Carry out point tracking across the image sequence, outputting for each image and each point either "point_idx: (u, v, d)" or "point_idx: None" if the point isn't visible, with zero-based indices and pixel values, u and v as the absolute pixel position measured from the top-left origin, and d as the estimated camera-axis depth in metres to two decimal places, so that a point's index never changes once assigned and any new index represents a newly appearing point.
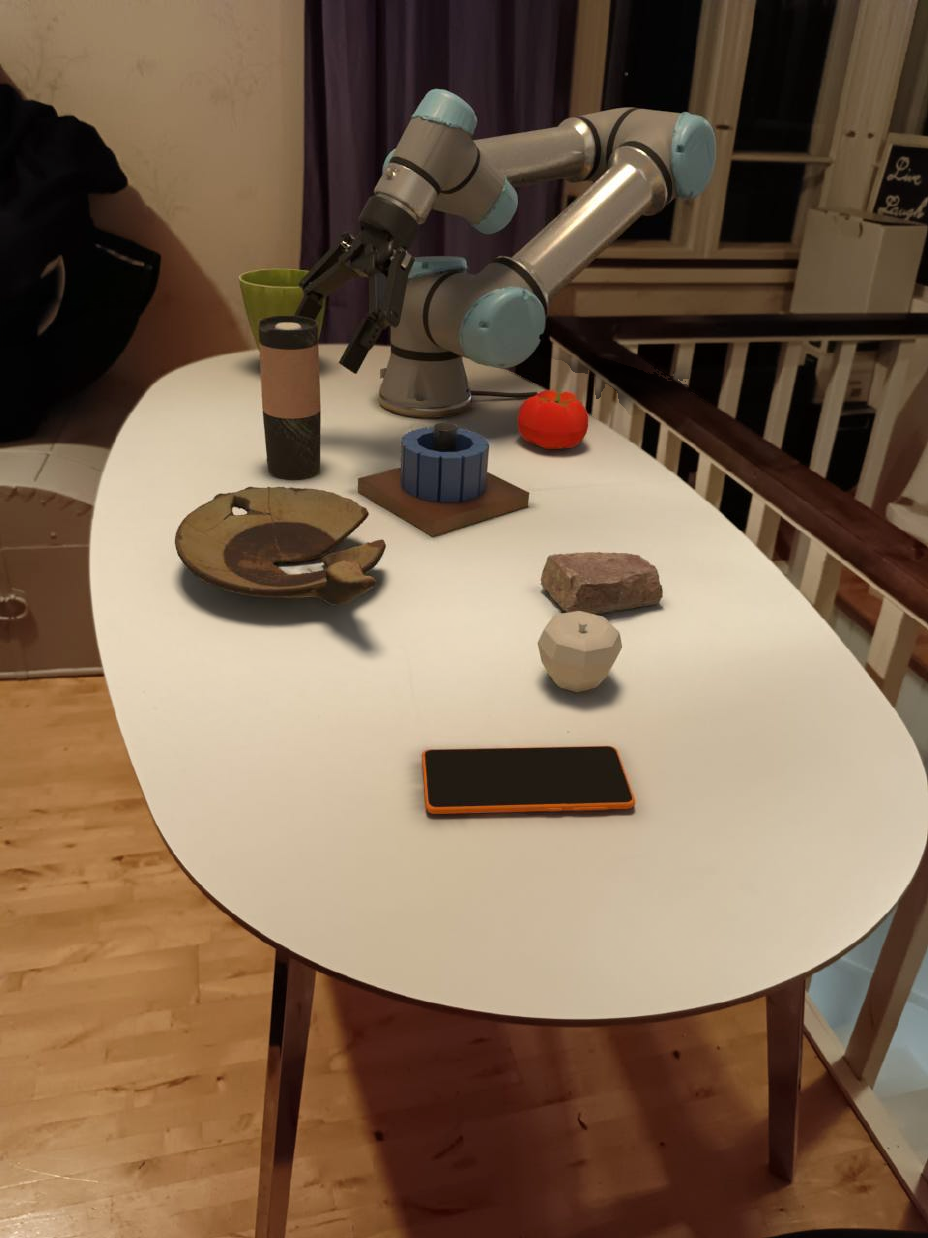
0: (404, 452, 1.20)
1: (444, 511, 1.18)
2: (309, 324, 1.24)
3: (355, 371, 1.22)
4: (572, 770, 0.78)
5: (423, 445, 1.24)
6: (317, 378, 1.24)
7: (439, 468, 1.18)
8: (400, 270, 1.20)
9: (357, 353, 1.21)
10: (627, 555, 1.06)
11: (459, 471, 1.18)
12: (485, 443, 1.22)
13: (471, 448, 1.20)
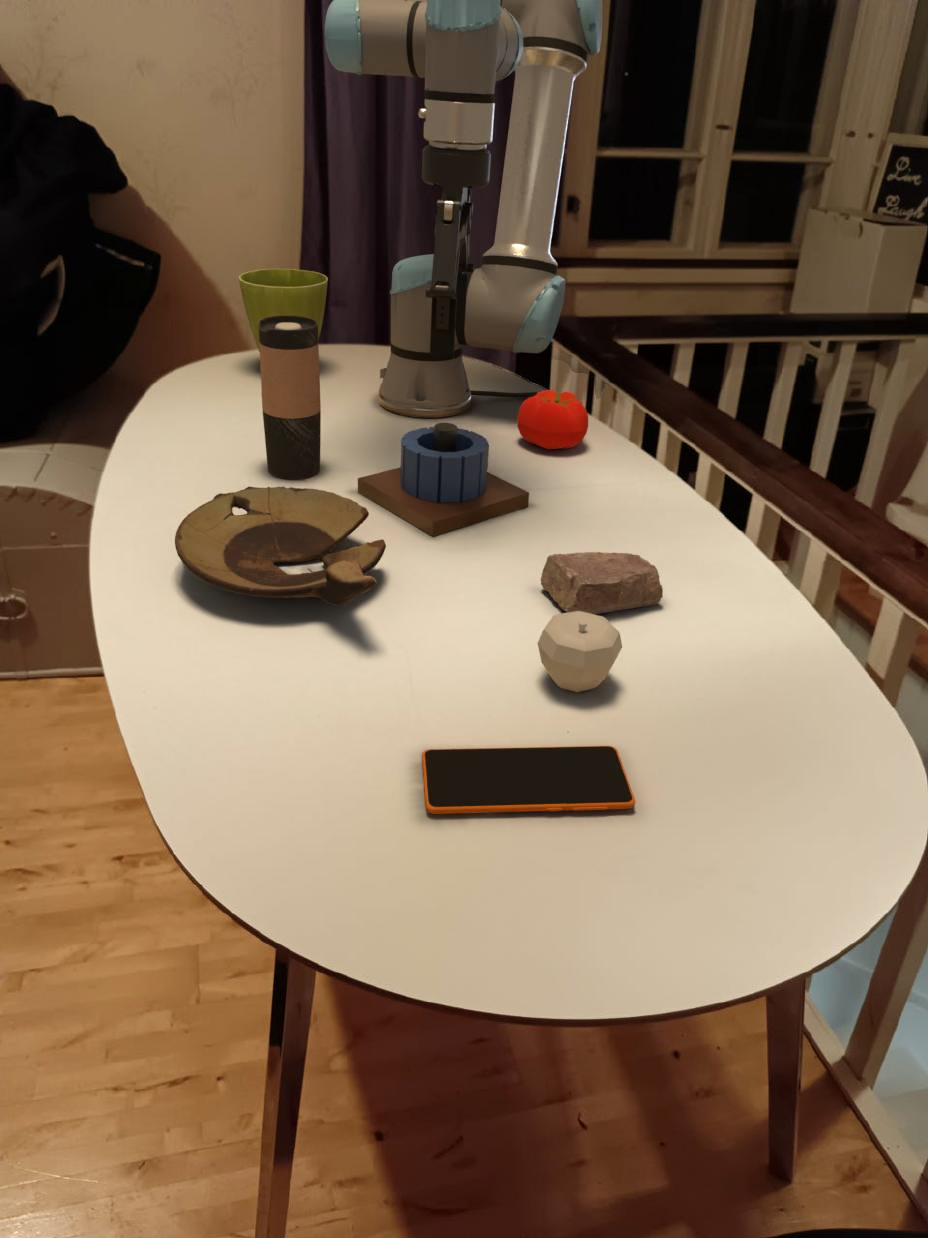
0: (404, 452, 1.20)
1: (444, 511, 1.18)
2: (309, 324, 1.24)
3: (450, 355, 1.09)
4: (572, 770, 0.78)
5: (423, 445, 1.24)
6: (317, 378, 1.24)
7: (439, 468, 1.18)
8: (444, 227, 1.02)
9: (442, 337, 1.08)
10: (627, 555, 1.06)
11: (459, 471, 1.18)
12: (485, 443, 1.22)
13: (471, 448, 1.20)
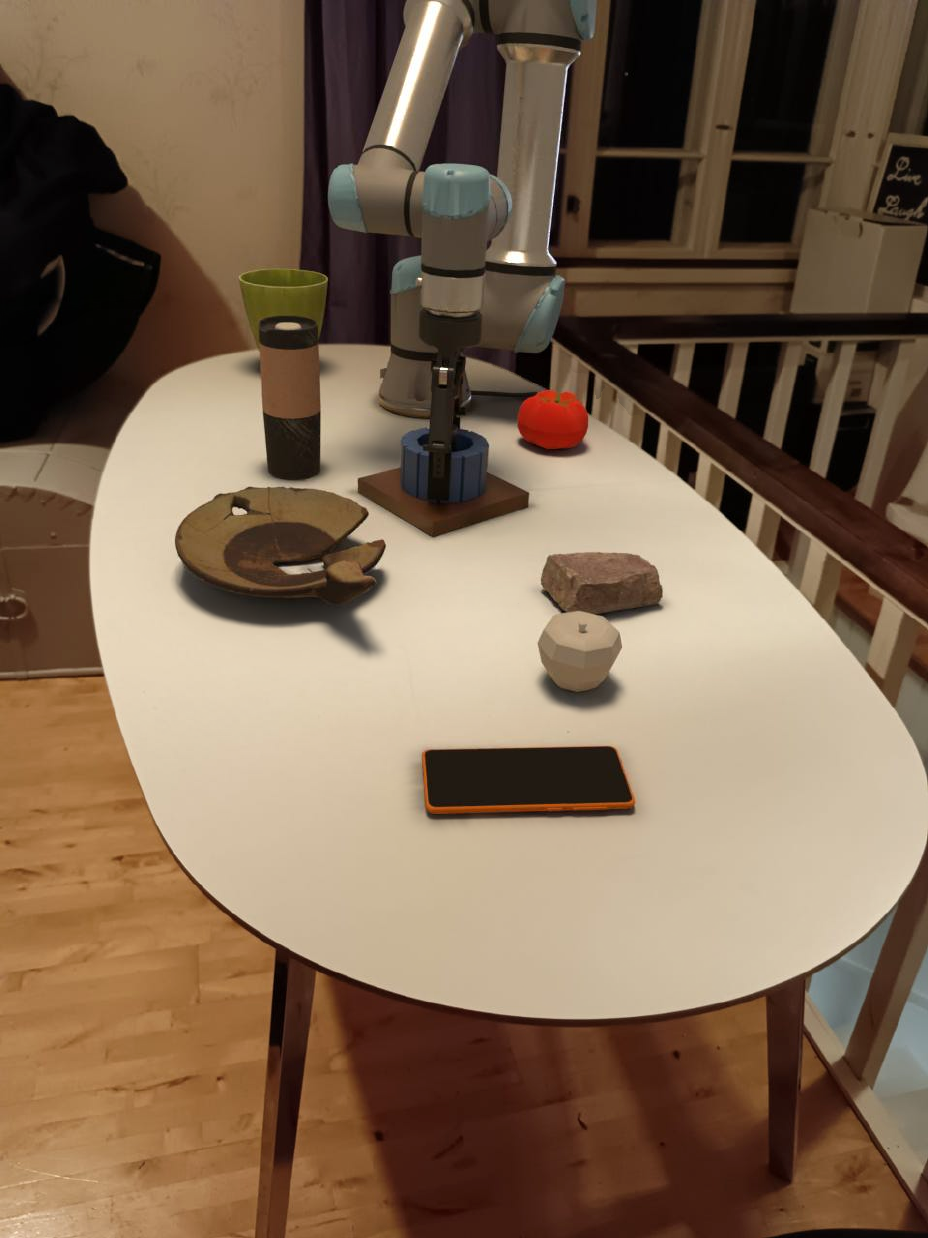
0: (404, 452, 1.20)
1: (444, 511, 1.18)
2: (309, 324, 1.24)
3: (446, 499, 1.19)
4: (572, 770, 0.78)
5: None
6: (317, 378, 1.24)
7: None
8: (439, 391, 1.11)
9: (438, 483, 1.18)
10: (627, 555, 1.06)
11: (459, 471, 1.18)
12: (485, 443, 1.22)
13: (471, 448, 1.20)
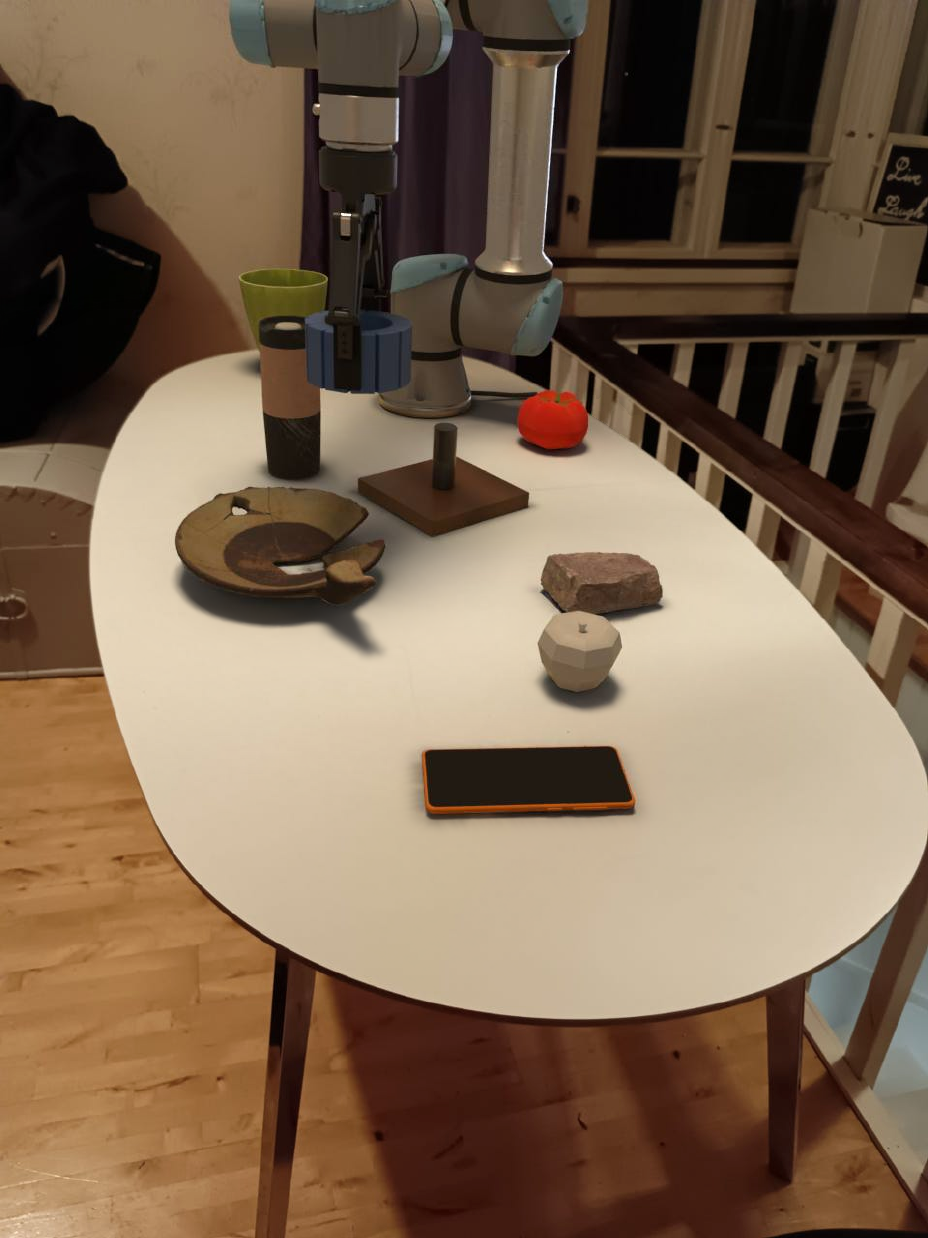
0: (307, 332, 0.98)
1: (444, 511, 1.18)
2: None
3: (357, 388, 0.97)
4: (572, 770, 0.78)
5: None
6: None
7: None
8: (341, 244, 0.89)
9: (346, 367, 0.96)
10: (627, 555, 1.06)
11: (373, 353, 0.96)
12: (407, 324, 1.00)
13: (389, 327, 0.98)
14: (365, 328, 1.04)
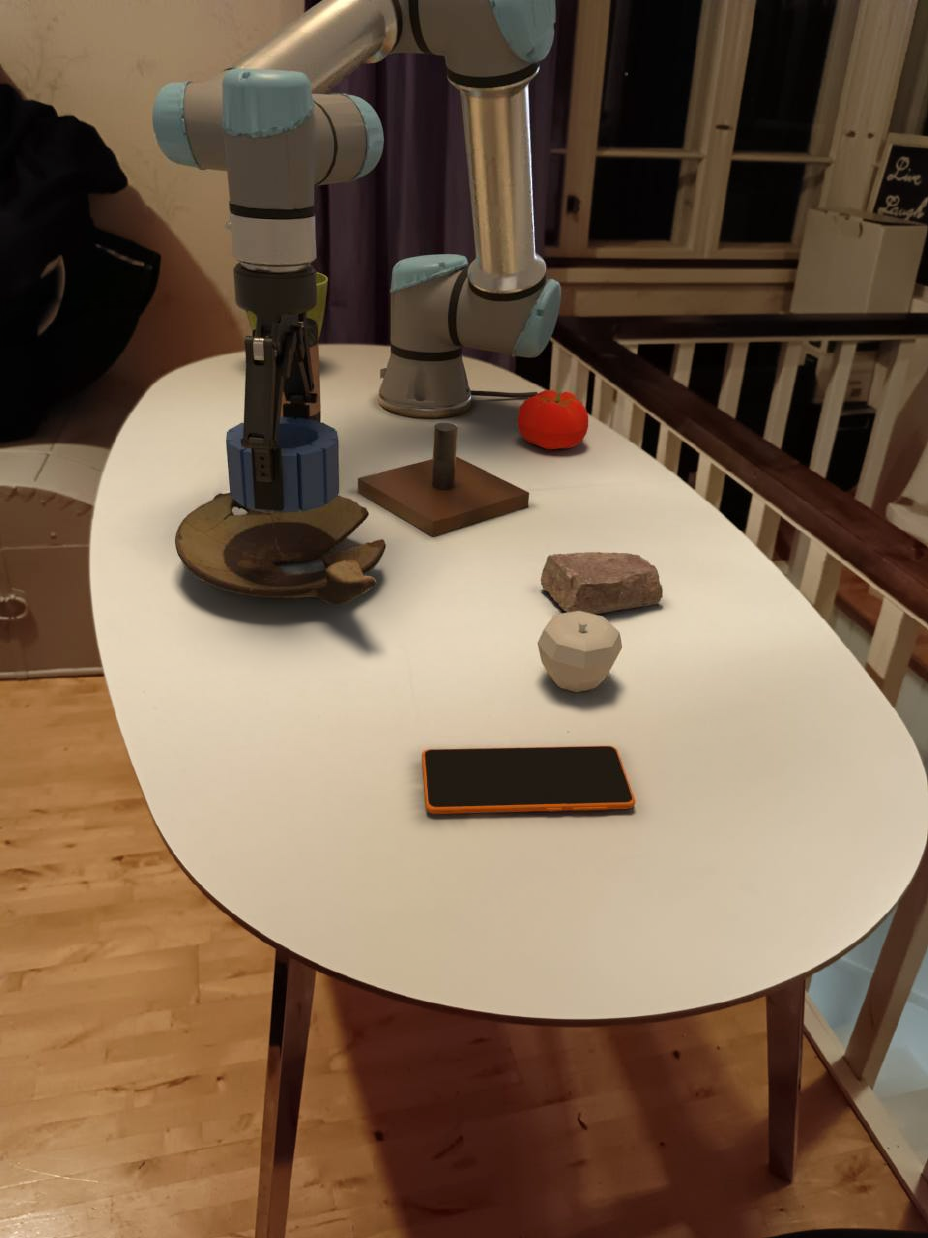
0: (228, 448, 0.94)
1: (444, 511, 1.18)
2: (309, 324, 1.24)
3: (279, 508, 0.93)
4: (572, 769, 0.78)
5: None
6: (317, 378, 1.24)
7: None
8: (255, 369, 0.85)
9: (267, 488, 0.92)
10: (627, 555, 1.06)
11: (294, 473, 0.92)
12: (333, 437, 0.96)
13: (313, 443, 0.94)
14: (293, 437, 1.00)
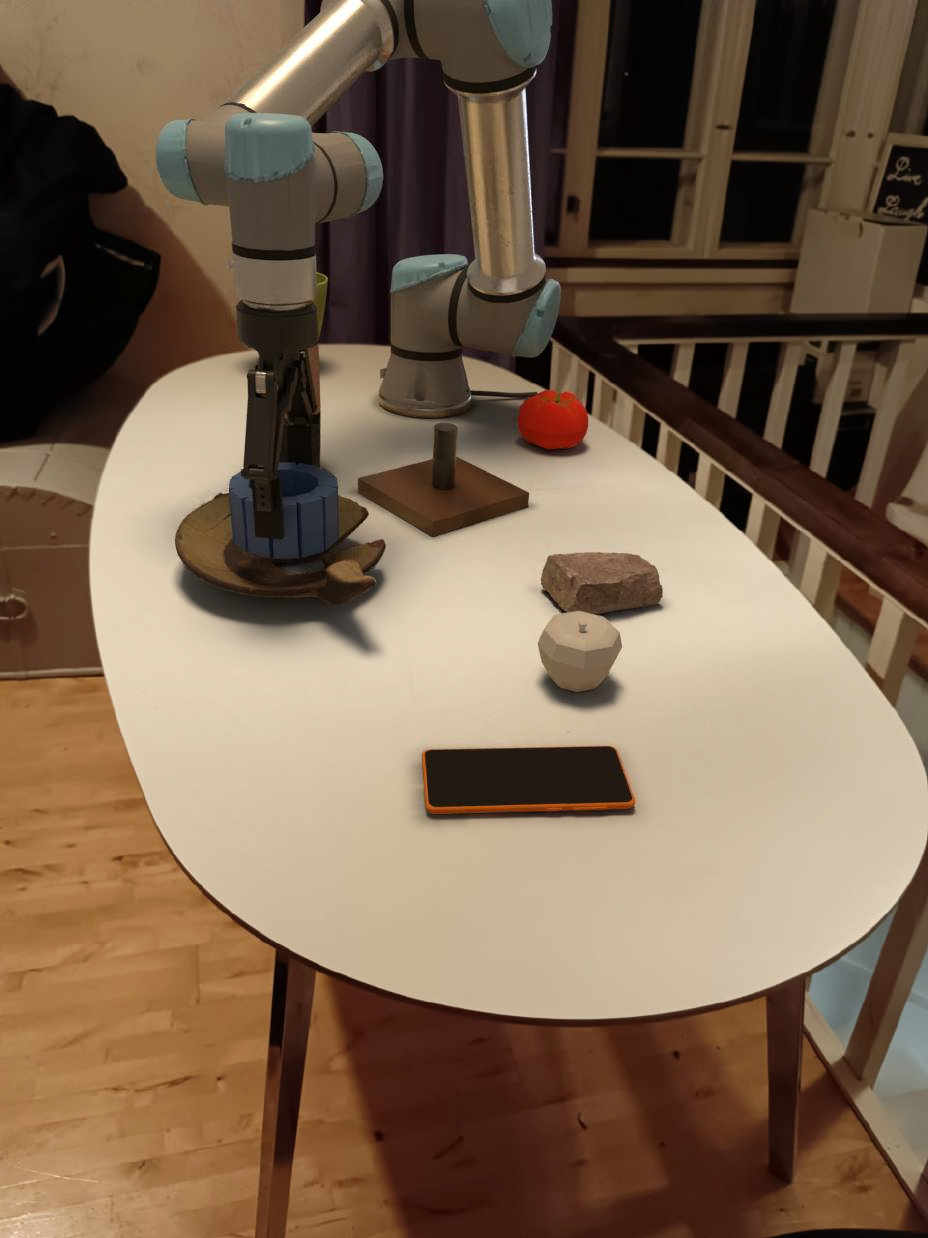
0: None
1: (444, 511, 1.18)
2: None
3: (279, 537, 0.94)
4: (572, 770, 0.78)
5: None
6: (317, 378, 1.24)
7: None
8: (257, 401, 0.87)
9: (267, 517, 0.93)
10: (627, 555, 1.06)
11: (294, 521, 0.95)
12: (333, 485, 0.99)
13: (313, 491, 0.97)
14: (294, 483, 1.02)
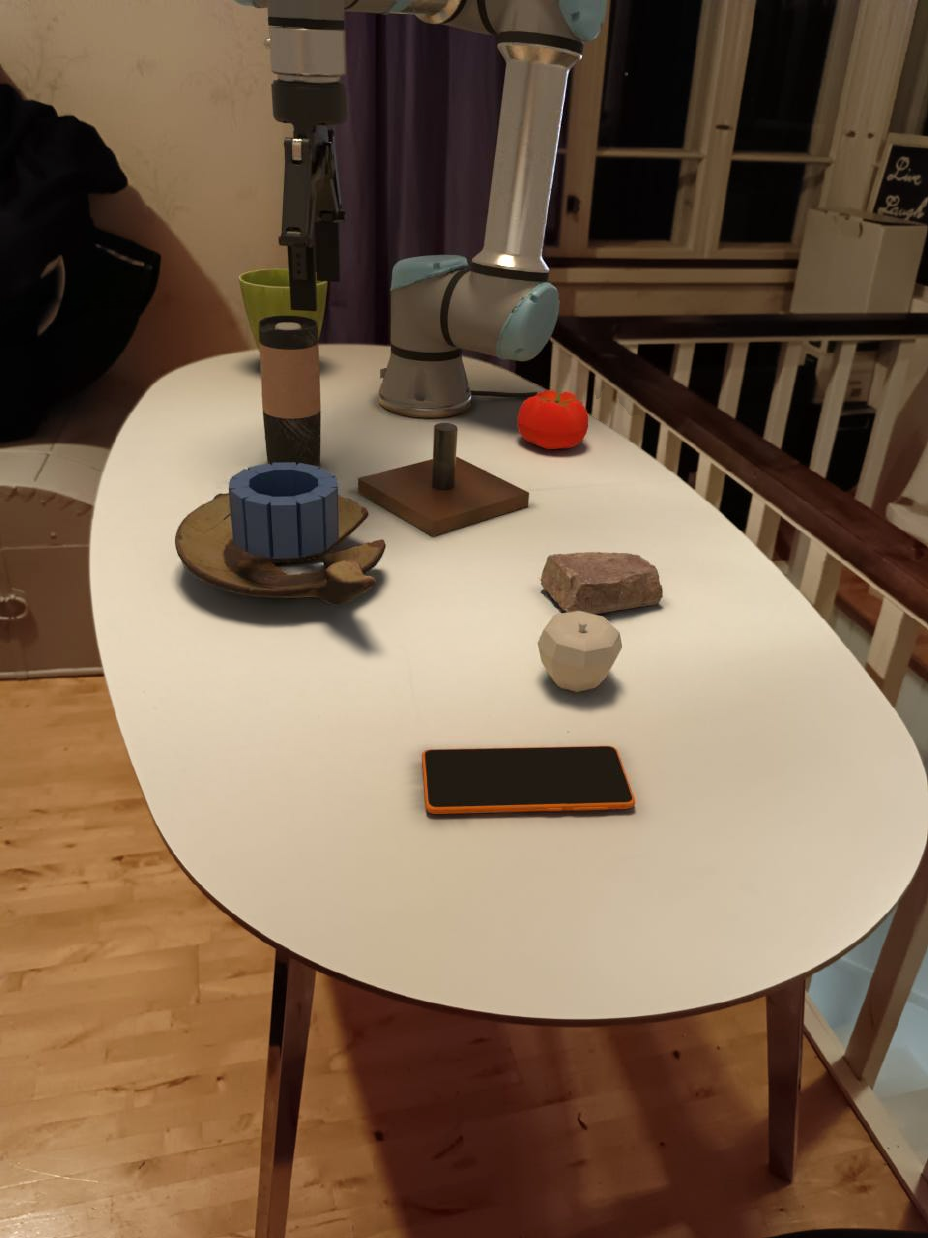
0: None
1: (444, 511, 1.18)
2: (309, 324, 1.24)
3: (313, 308, 1.01)
4: (572, 770, 0.78)
5: (261, 486, 1.01)
6: (317, 378, 1.24)
7: (268, 517, 0.95)
8: (293, 167, 0.94)
9: (301, 288, 1.00)
10: (627, 555, 1.06)
11: (294, 521, 0.95)
12: (333, 485, 0.99)
13: (313, 491, 0.97)
14: (294, 483, 1.02)
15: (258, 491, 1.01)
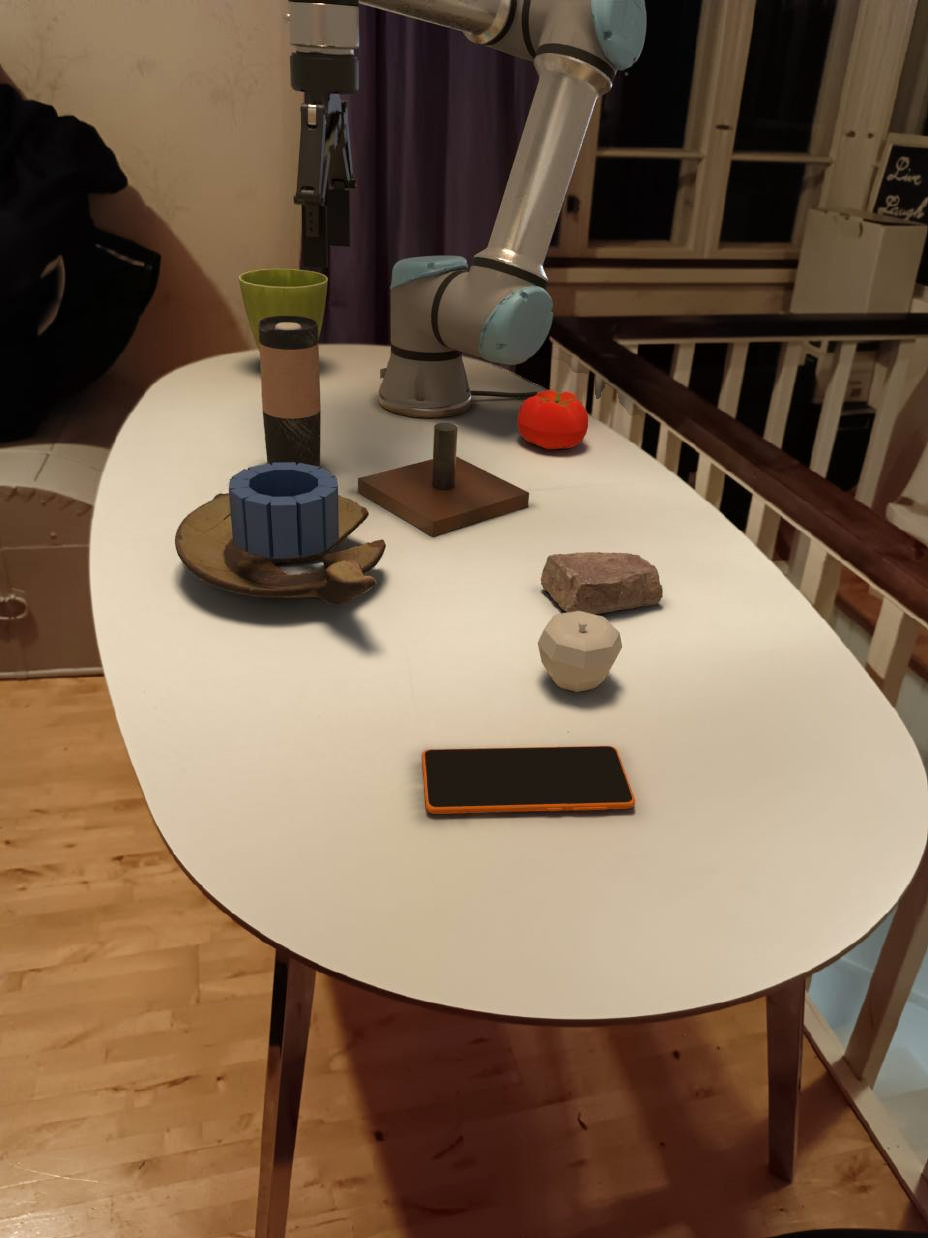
0: None
1: (444, 511, 1.18)
2: (309, 324, 1.24)
3: (324, 265, 1.09)
4: (572, 770, 0.78)
5: (261, 486, 1.01)
6: (317, 378, 1.24)
7: (268, 517, 0.95)
8: (308, 131, 1.02)
9: (314, 246, 1.08)
10: (627, 555, 1.06)
11: (294, 521, 0.95)
12: (333, 485, 0.99)
13: (313, 491, 0.97)
14: (294, 483, 1.02)
15: (258, 491, 1.01)
